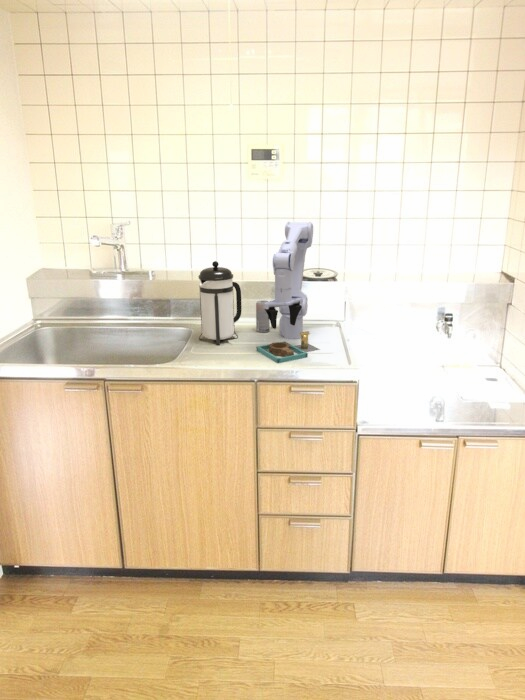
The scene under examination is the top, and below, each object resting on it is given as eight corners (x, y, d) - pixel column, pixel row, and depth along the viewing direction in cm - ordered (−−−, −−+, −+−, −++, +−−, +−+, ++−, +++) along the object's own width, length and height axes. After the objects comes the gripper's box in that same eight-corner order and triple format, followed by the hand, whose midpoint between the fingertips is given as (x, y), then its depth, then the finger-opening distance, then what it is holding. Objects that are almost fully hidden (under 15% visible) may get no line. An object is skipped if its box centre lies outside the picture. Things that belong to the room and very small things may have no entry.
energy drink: (270, 329, 210) (270, 300, 206) (269, 333, 205) (268, 303, 201) (257, 329, 210) (256, 300, 206) (255, 332, 205) (255, 303, 201)
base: (289, 349, 185) (289, 346, 185) (307, 345, 189) (307, 343, 188) (301, 355, 178) (301, 353, 178) (320, 352, 182) (320, 349, 182)
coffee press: (239, 345, 190) (237, 264, 180) (196, 345, 191) (191, 264, 181) (242, 331, 207) (240, 256, 197) (202, 332, 207) (198, 257, 197)
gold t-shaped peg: (298, 347, 184) (298, 331, 182) (306, 346, 185) (306, 330, 183) (302, 349, 182) (302, 333, 180) (310, 348, 183) (310, 332, 181)
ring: (265, 352, 181) (265, 344, 180) (282, 349, 184) (282, 341, 183) (281, 361, 171) (281, 353, 170) (299, 358, 175) (299, 349, 174)
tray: (256, 353, 182) (256, 346, 181) (284, 347, 187) (284, 341, 186) (277, 366, 169) (277, 359, 169) (307, 359, 175) (307, 353, 174)
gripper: (270, 292, 169) (270, 332, 173) (307, 287, 175) (306, 326, 180) (260, 288, 175) (260, 327, 179) (296, 284, 181) (296, 321, 186)
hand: (283, 326), depth 180 cm, fingers open, 7 cm apart
